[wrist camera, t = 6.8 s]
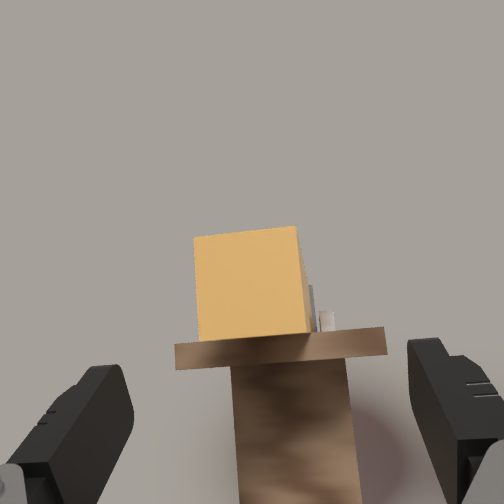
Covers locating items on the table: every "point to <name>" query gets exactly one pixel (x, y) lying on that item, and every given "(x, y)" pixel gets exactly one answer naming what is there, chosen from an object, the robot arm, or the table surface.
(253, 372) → the stand
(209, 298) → the tan rectangular block
